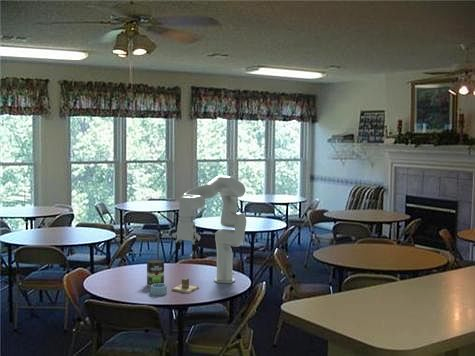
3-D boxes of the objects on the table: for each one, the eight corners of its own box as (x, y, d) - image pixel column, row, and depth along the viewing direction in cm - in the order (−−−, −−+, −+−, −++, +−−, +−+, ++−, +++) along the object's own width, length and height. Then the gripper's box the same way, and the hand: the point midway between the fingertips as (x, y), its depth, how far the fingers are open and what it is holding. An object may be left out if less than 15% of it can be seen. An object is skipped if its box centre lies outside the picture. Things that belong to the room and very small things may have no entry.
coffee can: (165, 286, 331) (165, 262, 330) (147, 287, 328) (147, 263, 327) (163, 281, 340) (163, 258, 339) (145, 282, 338) (145, 259, 337)
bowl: (156, 290, 322) (156, 282, 321) (170, 292, 318) (170, 284, 317) (147, 294, 313) (147, 286, 313) (161, 296, 310) (161, 288, 309)
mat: (181, 286, 330) (181, 285, 330) (199, 288, 325) (199, 288, 325) (170, 291, 319) (170, 290, 319) (189, 294, 314) (189, 293, 314)
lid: (181, 286, 329) (181, 275, 329) (198, 288, 325) (198, 277, 324) (172, 290, 320) (172, 279, 319) (189, 293, 315) (189, 282, 314)
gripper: (203, 219, 307) (203, 250, 308) (175, 217, 314) (175, 247, 315) (197, 221, 300) (197, 253, 301) (168, 219, 307) (168, 250, 308)
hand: (186, 250), depth 308 cm, fingers open, 9 cm apart
